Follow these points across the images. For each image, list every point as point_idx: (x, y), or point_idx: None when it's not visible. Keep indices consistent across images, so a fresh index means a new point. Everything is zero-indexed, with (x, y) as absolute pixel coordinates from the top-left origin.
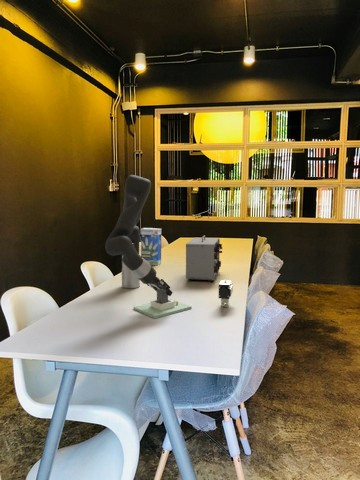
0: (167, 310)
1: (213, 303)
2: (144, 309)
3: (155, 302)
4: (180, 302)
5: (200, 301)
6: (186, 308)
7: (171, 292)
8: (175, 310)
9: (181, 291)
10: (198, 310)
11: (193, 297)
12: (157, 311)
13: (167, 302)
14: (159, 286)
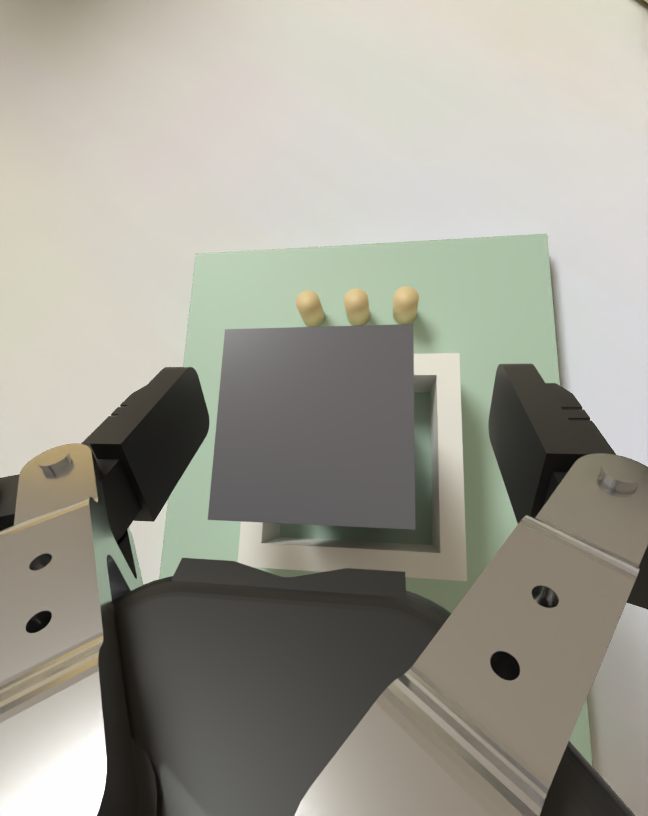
0: (504, 514)
1: (541, 24)
2: None
3: (335, 565)
4: (369, 244)
5: (417, 75)
6: (549, 303)
7: (571, 407)
8: None
9: (96, 49)
10: (633, 234)
11: (286, 61)
12: None
13: (440, 450)
14: (326, 522)
